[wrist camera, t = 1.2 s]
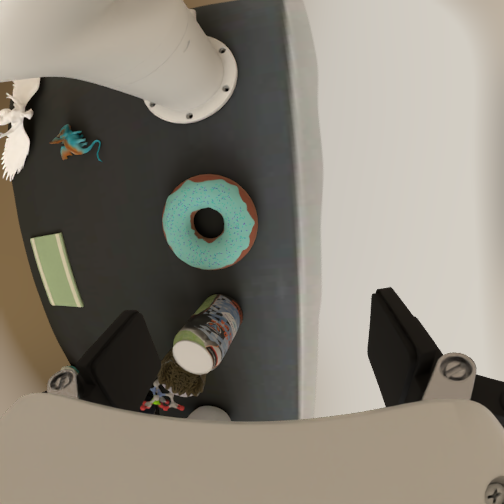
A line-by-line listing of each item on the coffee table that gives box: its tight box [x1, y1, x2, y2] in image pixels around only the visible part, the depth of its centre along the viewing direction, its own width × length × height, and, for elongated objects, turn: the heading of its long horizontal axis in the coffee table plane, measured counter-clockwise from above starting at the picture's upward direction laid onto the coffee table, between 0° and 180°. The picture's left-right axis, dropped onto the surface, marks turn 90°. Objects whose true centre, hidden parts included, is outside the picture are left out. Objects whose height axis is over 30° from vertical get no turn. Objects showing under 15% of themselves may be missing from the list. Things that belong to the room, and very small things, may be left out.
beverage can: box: [173, 294, 243, 375], centre depth 33 cm, size 6×7×12 cm
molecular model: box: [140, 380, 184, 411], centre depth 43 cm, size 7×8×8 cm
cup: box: [157, 348, 206, 397], centre depth 38 cm, size 8×7×8 cm
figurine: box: [0, 77, 40, 181], centre depth 27 cm, size 12×25×14 cm
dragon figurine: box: [50, 124, 102, 162], centre depth 31 cm, size 7×7×8 cm
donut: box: [162, 174, 258, 270], centre depth 33 cm, size 12×12×4 cm
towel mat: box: [30, 233, 84, 307], centre depth 40 cm, size 14×10×1 cm
